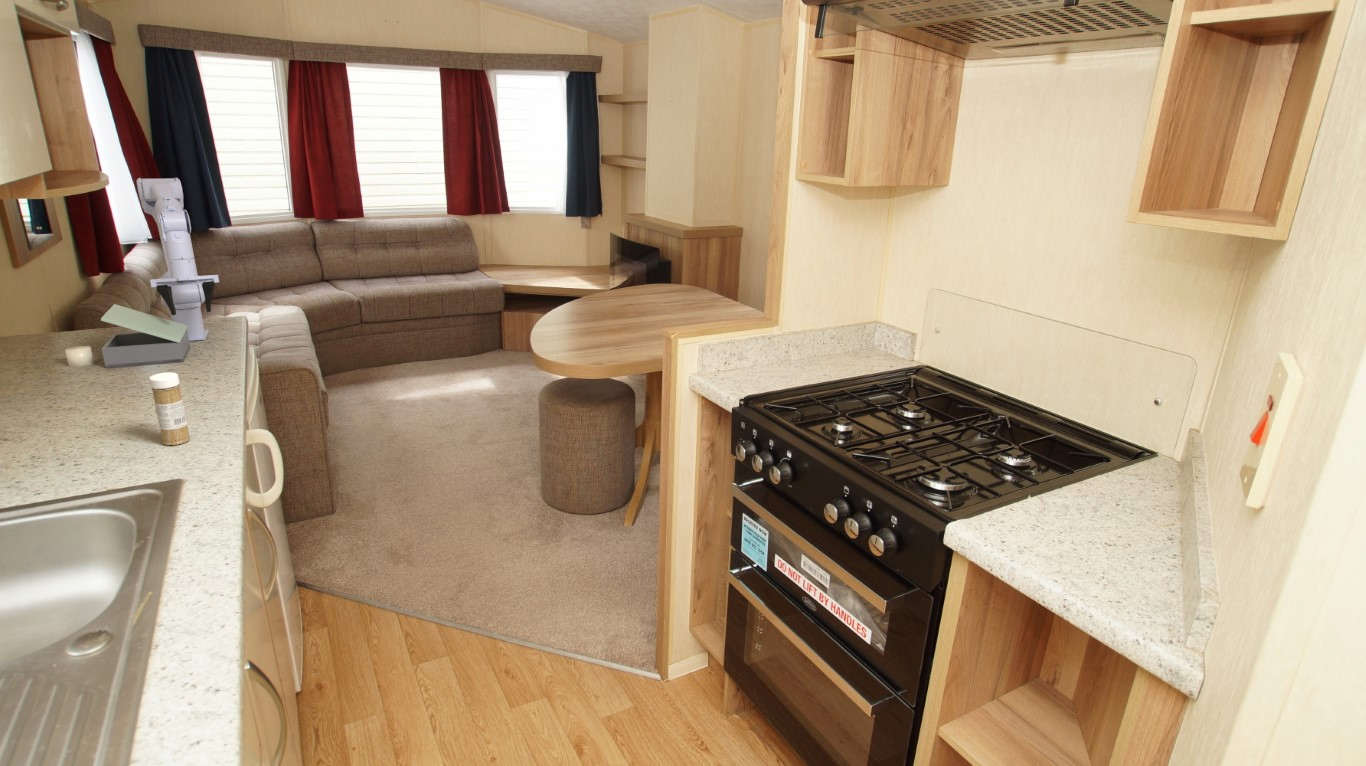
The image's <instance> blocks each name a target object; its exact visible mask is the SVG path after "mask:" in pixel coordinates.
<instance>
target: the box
mask: <svg viewBox="0 0 1366 766" xmlns="http://www.w3.org/2000/svg"><path fill="white" fill-rule="evenodd" d="M190 349H191V344H190V341H189V337H188V332H187V330H186V332H185V334H184V336H183V338H182V340H181V341H180V343H178V342H175V341H171V340H168V339H164V338H161V337H157V336H154V335H150V334H147V333H143V332H140V331H137V332H125V333H124V332H123V333H114V334H112V335H111V337H110V338H109V339H108V340H107V341H106V342H105V344H104V345H103V346H102V348H101V354H102V357H103V362H104V366H105V369H115V368H126V367H139V366H140V367H141V366H150V365H151V366H152V365H153V366H154V365H163V364H172V363H173V364H174V363H184V362H185V360H186V358H187V355H188V353H189V351H190Z"/></svg>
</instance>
